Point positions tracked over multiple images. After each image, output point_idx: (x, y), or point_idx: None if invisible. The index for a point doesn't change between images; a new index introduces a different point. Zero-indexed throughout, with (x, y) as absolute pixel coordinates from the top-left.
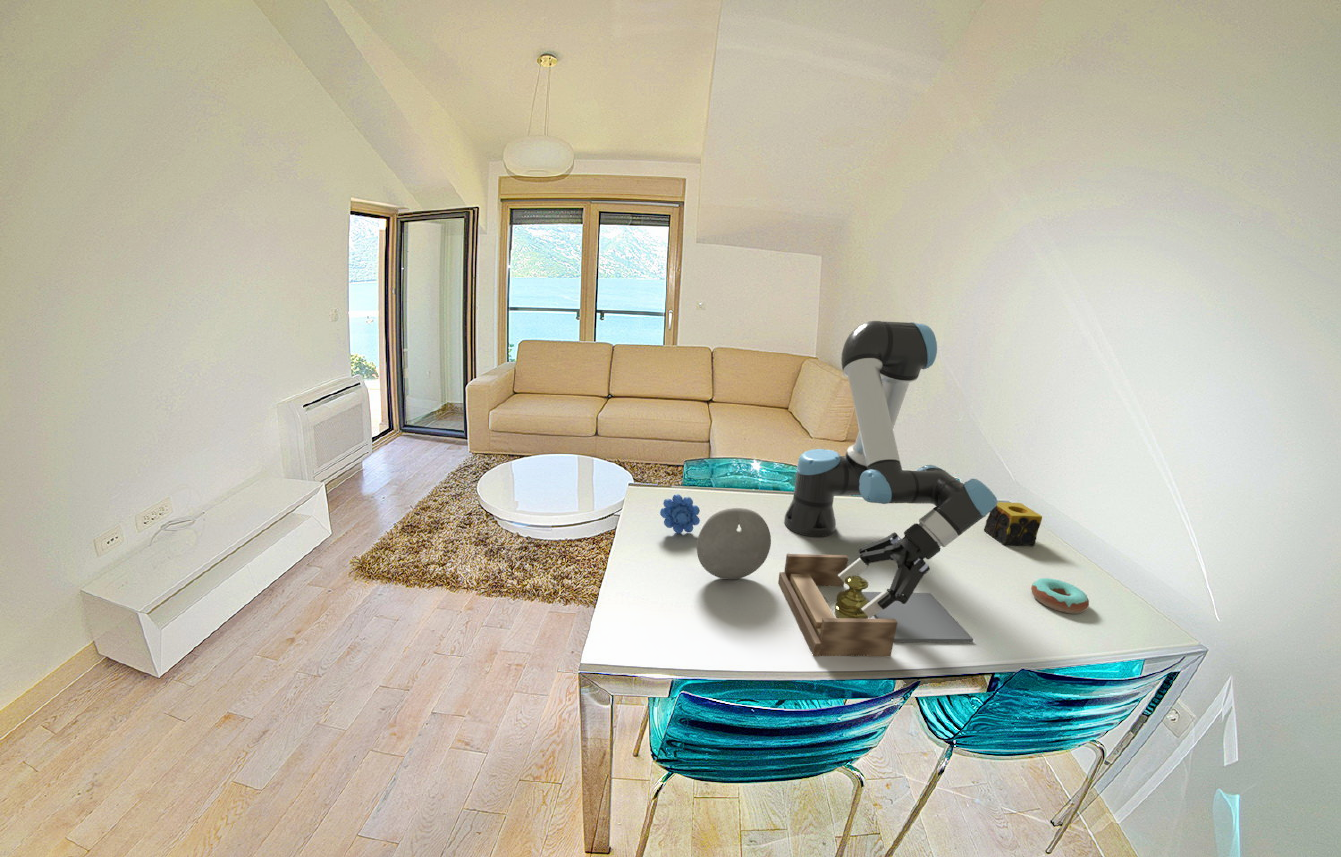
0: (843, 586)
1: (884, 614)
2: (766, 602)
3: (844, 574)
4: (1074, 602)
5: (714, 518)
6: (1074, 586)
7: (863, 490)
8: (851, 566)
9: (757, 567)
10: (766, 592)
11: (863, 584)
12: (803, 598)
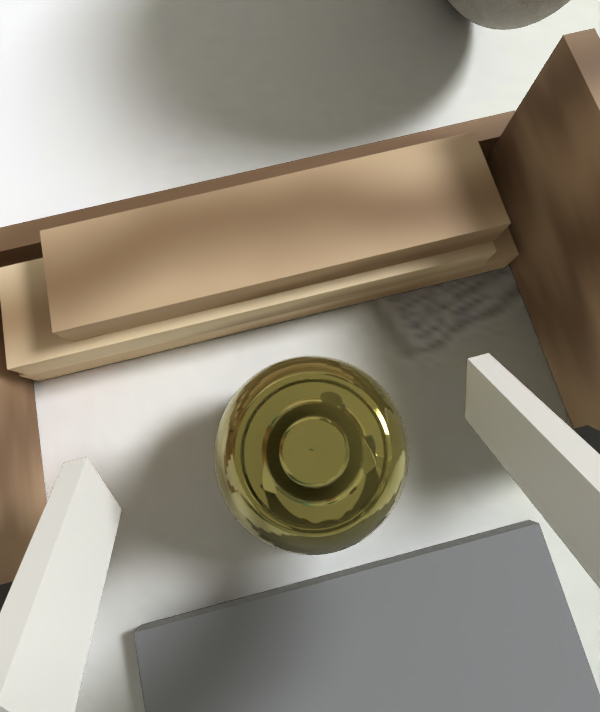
0: None
1: (346, 632)
2: (318, 113)
3: (487, 392)
4: None
5: None
6: None
7: None
8: (541, 432)
9: (495, 3)
10: (394, 112)
11: (256, 497)
12: (249, 185)
